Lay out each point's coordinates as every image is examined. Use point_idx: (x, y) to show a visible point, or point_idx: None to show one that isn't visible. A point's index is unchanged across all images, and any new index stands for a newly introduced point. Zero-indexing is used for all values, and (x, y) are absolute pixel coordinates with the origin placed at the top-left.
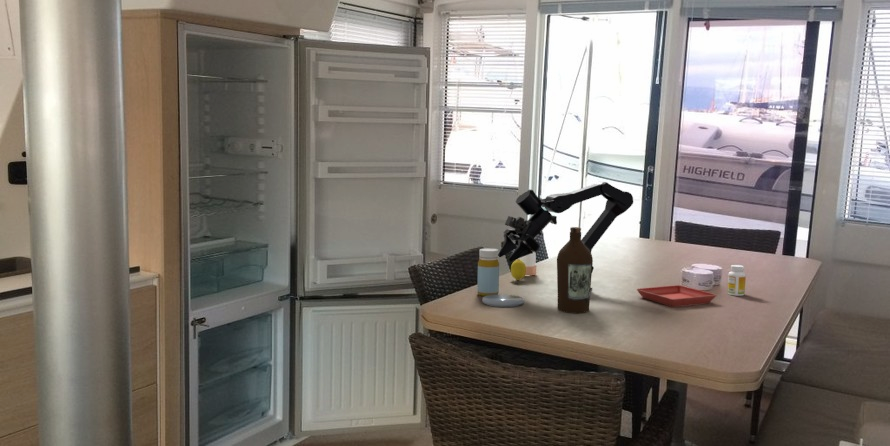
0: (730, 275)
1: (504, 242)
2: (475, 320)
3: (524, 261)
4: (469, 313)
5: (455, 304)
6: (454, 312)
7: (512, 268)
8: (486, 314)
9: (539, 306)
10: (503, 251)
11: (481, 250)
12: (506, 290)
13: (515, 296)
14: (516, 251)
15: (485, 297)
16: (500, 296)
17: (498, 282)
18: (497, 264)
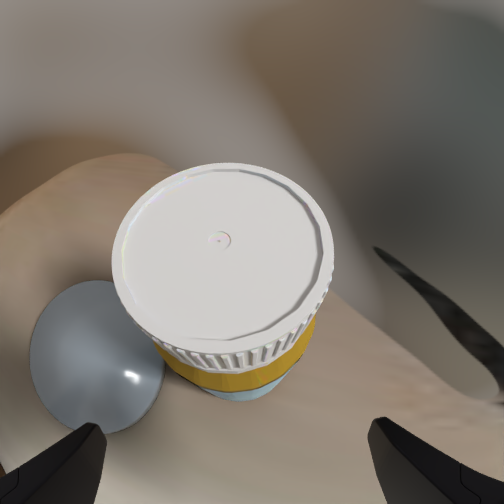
0: None
1: (496, 491)
2: (6, 219)
3: None
4: (43, 220)
5: None
6: (67, 194)
7: None
8: (18, 252)
9: (22, 433)
10: (395, 475)
11: (194, 168)
12: (316, 460)
13: (102, 418)
14: (17, 478)
15: None
16: (119, 361)
17: (199, 386)
18: (159, 353)
